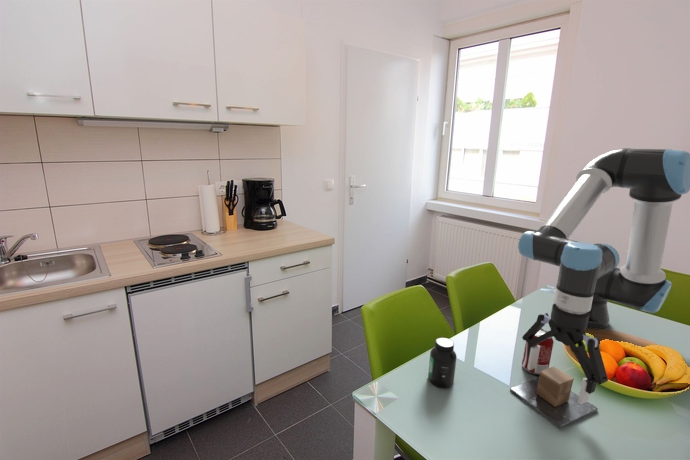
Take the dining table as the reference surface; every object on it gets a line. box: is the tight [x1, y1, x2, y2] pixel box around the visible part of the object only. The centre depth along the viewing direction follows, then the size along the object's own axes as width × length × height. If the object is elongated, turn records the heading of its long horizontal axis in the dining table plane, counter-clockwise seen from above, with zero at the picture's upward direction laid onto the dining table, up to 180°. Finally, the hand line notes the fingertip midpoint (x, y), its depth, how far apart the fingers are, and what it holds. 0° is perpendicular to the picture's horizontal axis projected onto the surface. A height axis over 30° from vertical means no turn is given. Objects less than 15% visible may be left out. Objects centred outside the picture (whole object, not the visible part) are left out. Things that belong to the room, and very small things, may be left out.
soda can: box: [521, 327, 555, 376], centre depth 101 cm, size 7×7×12 cm
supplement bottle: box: [427, 336, 457, 389], centre depth 96 cm, size 7×7×12 cm
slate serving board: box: [509, 377, 599, 430], centre depth 90 cm, size 14×14×7 cm
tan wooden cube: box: [536, 366, 575, 407], centre depth 90 cm, size 5×5×7 cm
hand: (555, 383), depth 89 cm, fingers open, 13 cm apart
